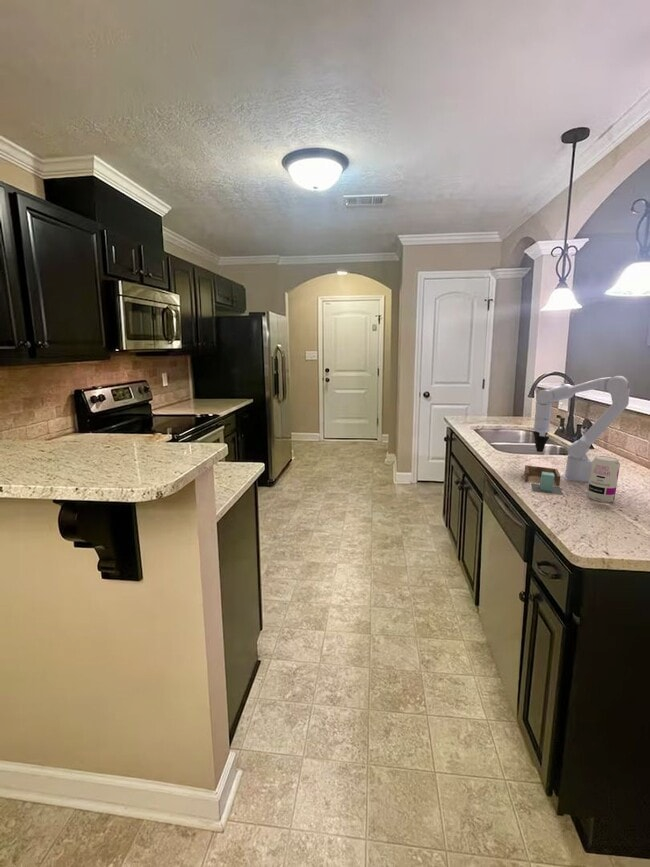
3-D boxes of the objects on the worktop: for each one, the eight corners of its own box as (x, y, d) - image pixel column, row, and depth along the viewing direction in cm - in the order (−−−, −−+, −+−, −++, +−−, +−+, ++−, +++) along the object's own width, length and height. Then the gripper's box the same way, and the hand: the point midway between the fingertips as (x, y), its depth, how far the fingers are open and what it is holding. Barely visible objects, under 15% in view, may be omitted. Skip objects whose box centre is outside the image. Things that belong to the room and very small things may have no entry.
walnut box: (556, 478, 177) (557, 468, 176) (559, 486, 166) (560, 476, 165) (524, 474, 181) (525, 465, 180) (525, 482, 170) (526, 472, 170)
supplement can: (610, 497, 155) (616, 456, 152) (617, 504, 147) (623, 462, 144) (584, 494, 157) (590, 454, 154) (590, 501, 150) (596, 460, 147)
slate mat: (559, 488, 164) (559, 487, 164) (562, 496, 155) (563, 495, 155) (531, 484, 168) (531, 483, 168) (532, 492, 159) (532, 491, 159)
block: (551, 488, 162) (553, 473, 161) (552, 491, 159) (554, 475, 158) (539, 486, 164) (541, 471, 163) (540, 489, 160) (542, 474, 159)
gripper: (531, 415, 188) (527, 445, 191) (533, 420, 175) (529, 452, 178) (549, 416, 185) (545, 447, 188) (552, 421, 172) (548, 454, 175)
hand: (539, 449), depth 183 cm, fingers open, 7 cm apart
